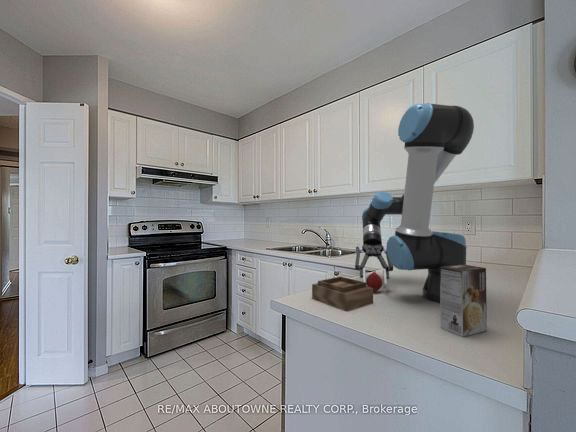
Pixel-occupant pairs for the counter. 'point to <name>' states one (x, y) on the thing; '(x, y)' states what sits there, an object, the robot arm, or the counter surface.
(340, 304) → the stand
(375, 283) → the onion
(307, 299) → the counter surface
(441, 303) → the coffee box
